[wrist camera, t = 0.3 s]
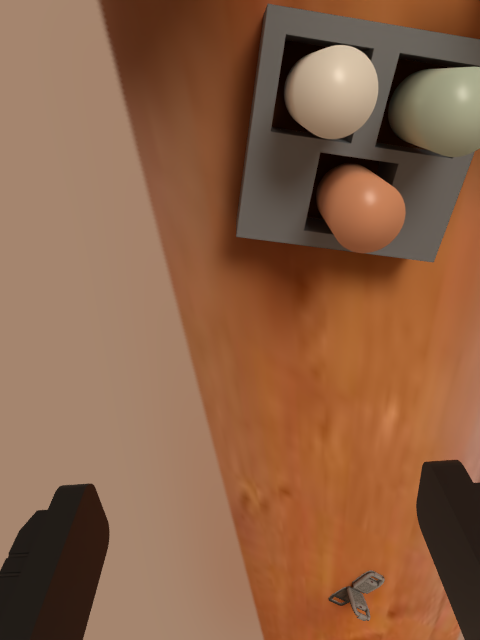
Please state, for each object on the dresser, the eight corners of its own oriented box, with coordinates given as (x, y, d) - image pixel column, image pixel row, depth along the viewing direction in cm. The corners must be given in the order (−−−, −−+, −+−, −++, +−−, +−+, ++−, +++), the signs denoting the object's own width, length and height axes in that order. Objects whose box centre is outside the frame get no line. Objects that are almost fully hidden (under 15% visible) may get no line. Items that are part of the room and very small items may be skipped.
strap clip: (369, 566, 59) (378, 599, 55) (385, 575, 59) (394, 608, 56) (326, 595, 62) (331, 628, 58) (341, 603, 63) (348, 636, 59)
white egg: (290, 46, 27) (303, 38, 22) (359, 57, 27) (389, 52, 22) (278, 123, 29) (287, 133, 24) (342, 132, 29) (365, 144, 24)
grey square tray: (264, 13, 29) (268, 3, 25) (481, 49, 30) (514, 45, 26) (236, 221, 35) (236, 236, 32) (414, 244, 36) (433, 262, 33)
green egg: (400, 64, 28) (438, 60, 22) (466, 74, 28) (519, 73, 23) (379, 138, 30) (410, 151, 24) (441, 147, 30) (485, 162, 25)
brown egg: (323, 158, 30) (341, 175, 25) (384, 167, 31) (415, 186, 25) (310, 220, 32) (324, 248, 27) (367, 228, 33) (392, 257, 27)
